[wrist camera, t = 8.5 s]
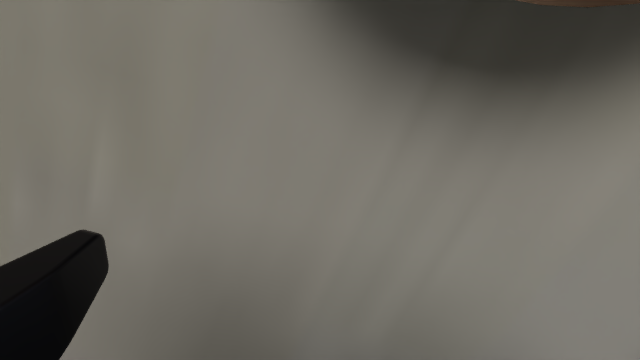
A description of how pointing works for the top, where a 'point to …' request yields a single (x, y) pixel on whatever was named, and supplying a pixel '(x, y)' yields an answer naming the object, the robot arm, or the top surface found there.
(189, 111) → the top surface
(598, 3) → the lid
